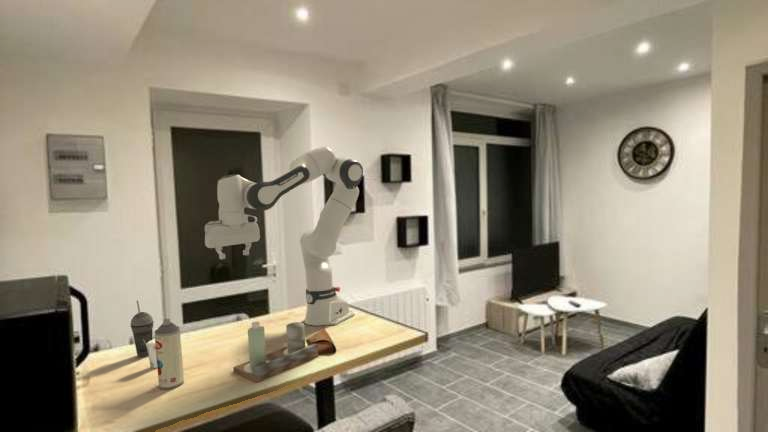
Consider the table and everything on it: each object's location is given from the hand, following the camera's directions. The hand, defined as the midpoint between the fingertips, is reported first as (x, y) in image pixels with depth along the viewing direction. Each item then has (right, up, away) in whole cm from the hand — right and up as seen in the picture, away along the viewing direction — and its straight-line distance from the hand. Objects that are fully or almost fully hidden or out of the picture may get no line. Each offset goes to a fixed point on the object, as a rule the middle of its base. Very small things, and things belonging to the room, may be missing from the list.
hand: (234, 256), depth 156 cm
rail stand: (+20, -34, -16) cm, 42 cm away
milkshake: (-21, -35, -15) cm, 44 cm away
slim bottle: (+15, -33, -21) cm, 42 cm away
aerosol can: (-9, -36, -28) cm, 46 cm away
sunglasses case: (+32, -33, -2) cm, 46 cm away
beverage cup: (-31, -35, -4) cm, 47 cm away
